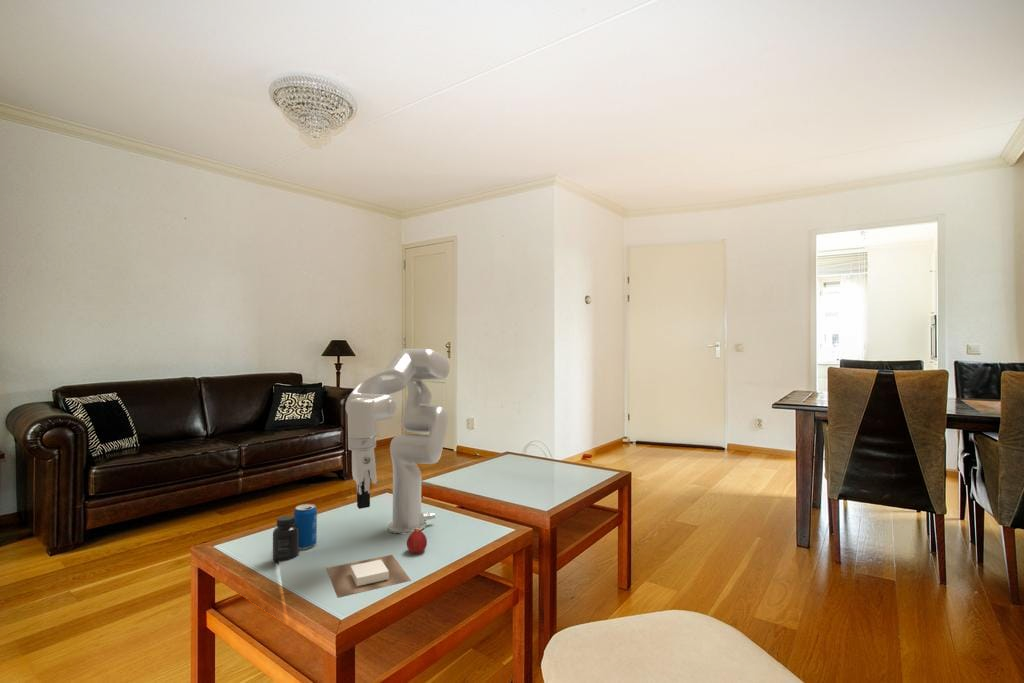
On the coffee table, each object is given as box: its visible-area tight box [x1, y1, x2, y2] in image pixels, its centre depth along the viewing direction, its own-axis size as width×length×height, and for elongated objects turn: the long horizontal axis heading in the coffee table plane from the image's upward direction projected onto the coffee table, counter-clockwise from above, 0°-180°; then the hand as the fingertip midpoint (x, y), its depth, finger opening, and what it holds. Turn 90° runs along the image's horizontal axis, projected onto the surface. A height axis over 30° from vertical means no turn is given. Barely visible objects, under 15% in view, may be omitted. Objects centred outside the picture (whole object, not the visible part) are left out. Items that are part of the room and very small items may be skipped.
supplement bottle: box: [272, 515, 300, 565], centre depth 140 cm, size 7×7×12 cm
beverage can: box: [293, 503, 318, 550], centre depth 150 cm, size 6×6×12 cm
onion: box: [406, 528, 428, 554], centre depth 143 cm, size 6×6×8 cm
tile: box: [350, 560, 389, 586], centre depth 126 cm, size 8×2×8 cm
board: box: [325, 554, 412, 599], centre depth 128 cm, size 18×18×1 cm
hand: (363, 506), depth 137 cm, fingers closed
